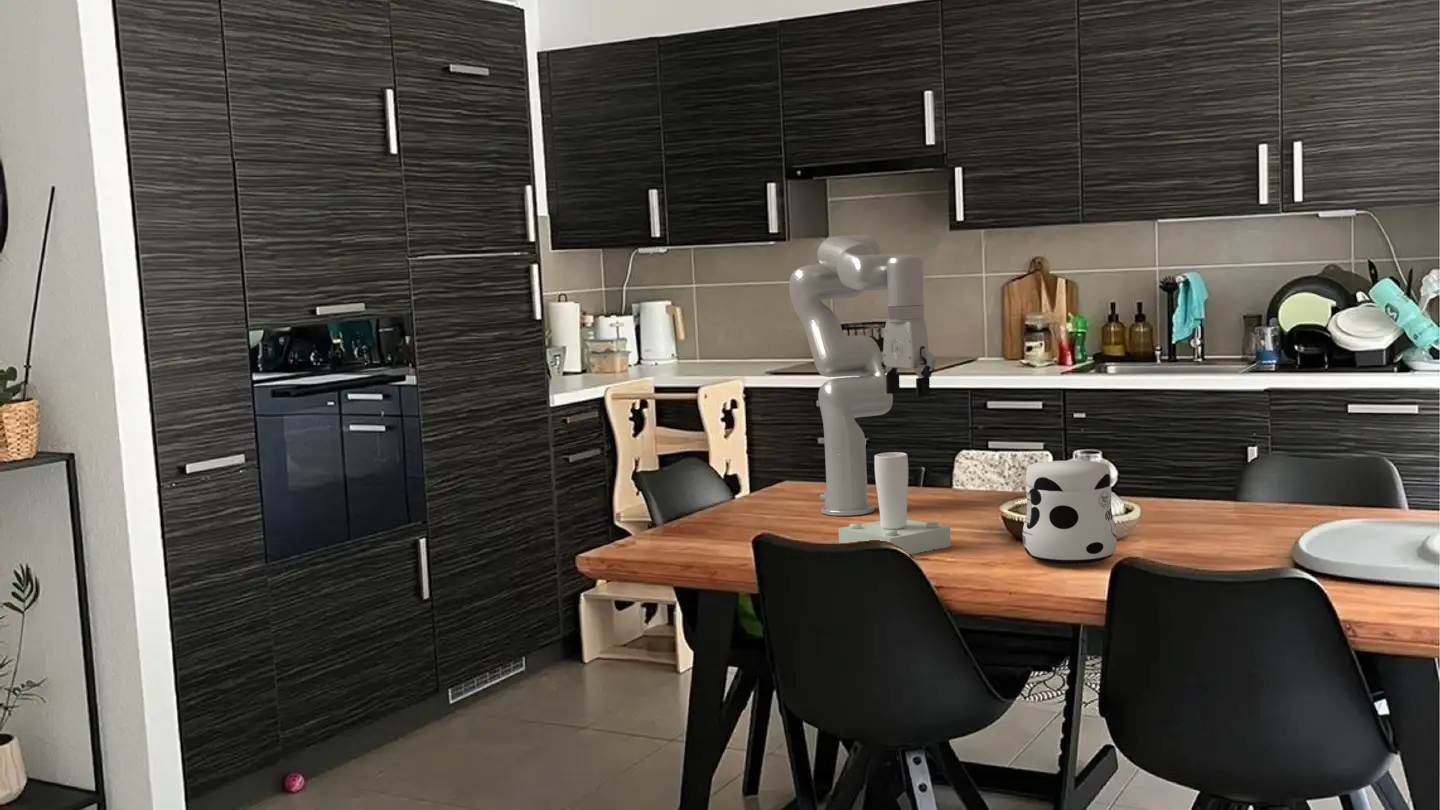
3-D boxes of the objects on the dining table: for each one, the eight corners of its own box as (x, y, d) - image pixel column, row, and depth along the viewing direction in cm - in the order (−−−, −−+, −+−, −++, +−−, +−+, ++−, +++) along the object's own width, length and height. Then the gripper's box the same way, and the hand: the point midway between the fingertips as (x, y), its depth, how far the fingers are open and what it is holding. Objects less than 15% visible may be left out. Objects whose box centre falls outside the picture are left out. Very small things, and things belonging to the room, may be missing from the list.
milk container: (1137, 560, 260) (1135, 465, 258) (1072, 574, 251) (1070, 476, 249) (1067, 547, 274) (1065, 457, 273) (1004, 560, 265) (1001, 467, 263)
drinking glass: (906, 531, 278) (903, 457, 276) (873, 530, 280) (870, 457, 279) (913, 524, 284) (910, 452, 283) (881, 523, 287) (878, 452, 285)
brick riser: (839, 547, 285) (838, 524, 284) (897, 536, 294) (896, 513, 293) (891, 558, 272) (890, 534, 271) (950, 546, 281) (949, 522, 280)
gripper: (866, 314, 296) (868, 393, 299) (919, 316, 282) (921, 399, 284) (893, 311, 300) (895, 390, 303) (947, 314, 286) (948, 396, 288)
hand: (907, 394), depth 293 cm, fingers open, 9 cm apart
